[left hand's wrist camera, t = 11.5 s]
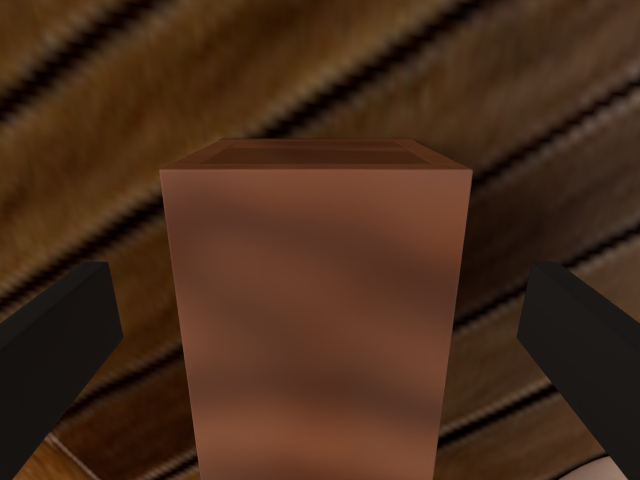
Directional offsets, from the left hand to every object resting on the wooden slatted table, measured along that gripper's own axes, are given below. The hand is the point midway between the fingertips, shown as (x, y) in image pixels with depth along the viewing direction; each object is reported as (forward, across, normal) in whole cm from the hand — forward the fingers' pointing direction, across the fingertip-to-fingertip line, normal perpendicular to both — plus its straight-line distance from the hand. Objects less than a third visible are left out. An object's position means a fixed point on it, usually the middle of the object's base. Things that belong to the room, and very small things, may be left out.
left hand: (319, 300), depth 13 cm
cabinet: (+11, 0, -6) cm, 13 cm away
